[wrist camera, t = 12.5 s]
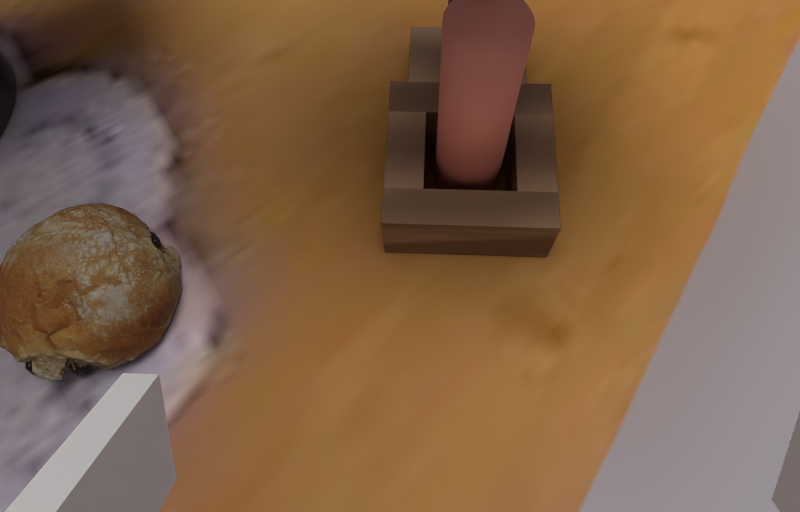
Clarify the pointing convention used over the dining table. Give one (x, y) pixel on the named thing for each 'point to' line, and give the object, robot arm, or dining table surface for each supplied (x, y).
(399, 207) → the awning socket
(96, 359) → the bread roll
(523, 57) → the peg
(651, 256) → the dining table surface
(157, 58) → the dining table surface
